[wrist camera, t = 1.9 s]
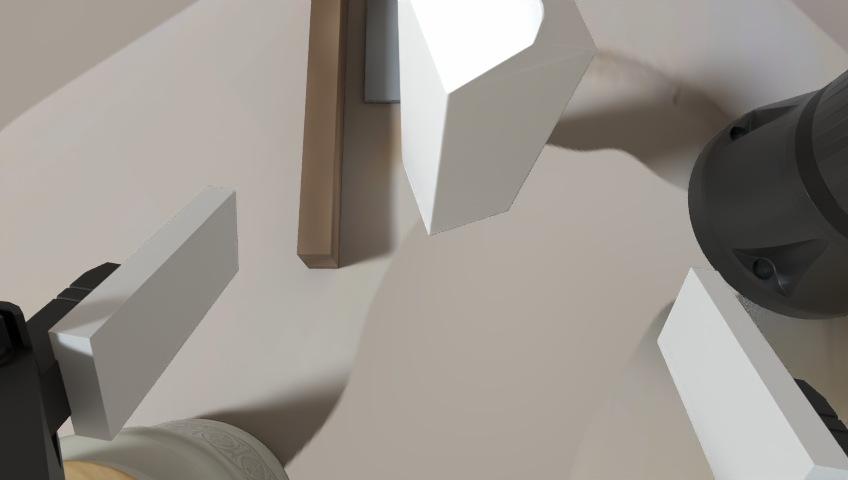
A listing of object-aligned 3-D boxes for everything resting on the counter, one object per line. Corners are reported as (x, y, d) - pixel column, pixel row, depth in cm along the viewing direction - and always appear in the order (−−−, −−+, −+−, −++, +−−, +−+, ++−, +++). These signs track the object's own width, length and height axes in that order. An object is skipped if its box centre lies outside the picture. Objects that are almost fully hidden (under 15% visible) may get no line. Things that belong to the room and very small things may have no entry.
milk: (479, 137, 40) (563, -156, 19) (509, 212, 38) (638, -13, 17) (399, 161, 39) (392, -115, 18) (427, 238, 38) (455, 37, 16)
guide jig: (530, -41, 44) (541, -83, 40) (551, 268, 37) (568, 254, 33) (324, -44, 43) (316, -87, 40) (308, 268, 37) (296, 254, 33)
